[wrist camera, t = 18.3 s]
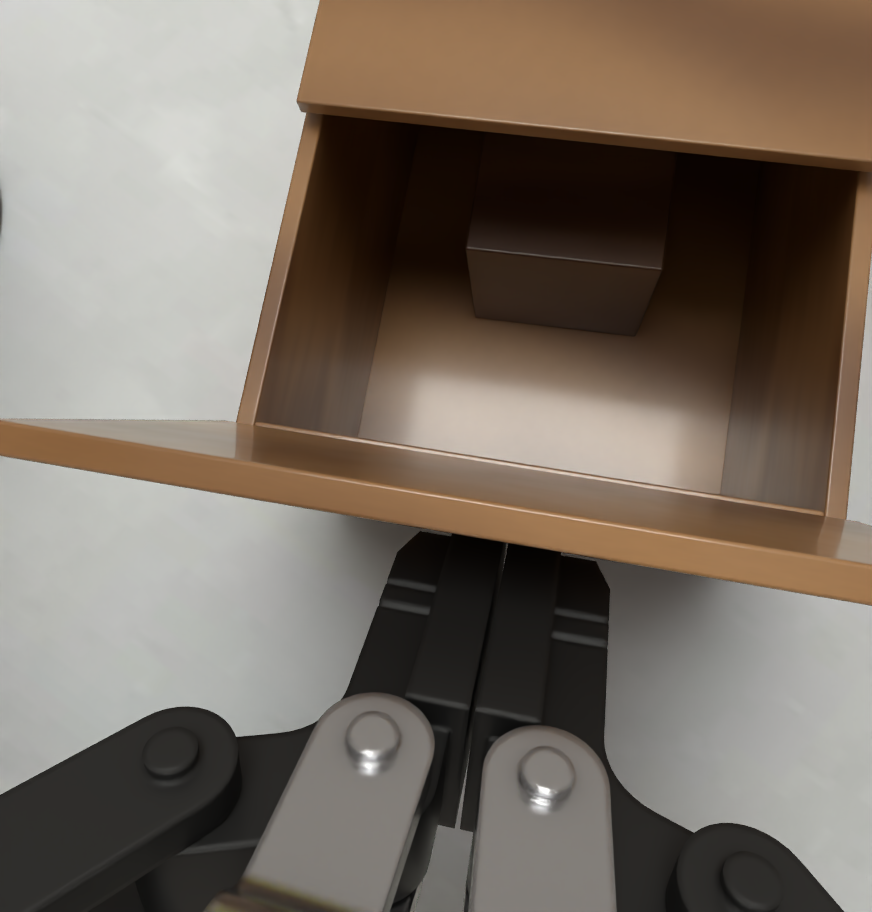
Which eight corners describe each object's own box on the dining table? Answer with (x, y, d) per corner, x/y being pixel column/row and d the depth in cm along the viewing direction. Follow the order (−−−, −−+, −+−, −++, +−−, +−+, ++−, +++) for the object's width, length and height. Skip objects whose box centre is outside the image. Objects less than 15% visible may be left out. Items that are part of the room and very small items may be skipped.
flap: (859, 521, 14) (855, 543, 14) (223, 420, 16) (220, 440, 16) (1128, 606, 8) (1119, 649, 8) (-15, 418, 9) (-20, 453, 9)
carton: (722, 566, 24) (863, 531, 14) (335, 501, 26) (217, 427, 16) (773, 141, 27) (924, -145, 17) (415, 104, 28) (357, -178, 18)
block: (663, 270, 20) (685, 90, 21) (464, 248, 21) (493, 75, 22) (635, 337, 25) (654, 188, 26) (475, 317, 26) (498, 173, 27)
